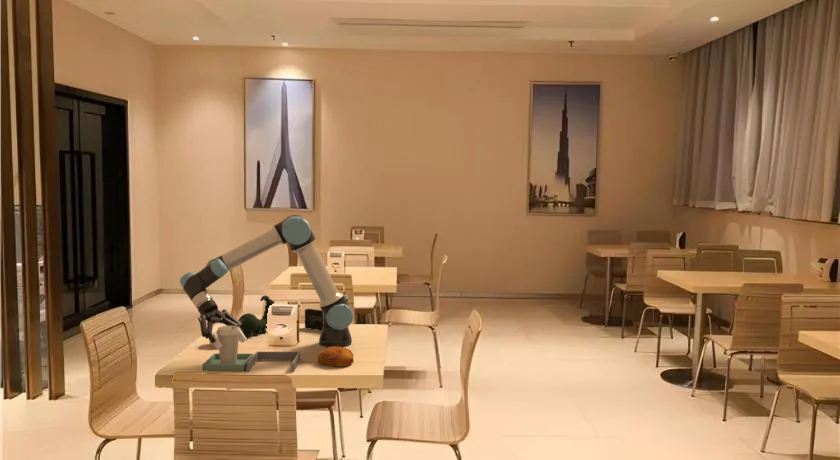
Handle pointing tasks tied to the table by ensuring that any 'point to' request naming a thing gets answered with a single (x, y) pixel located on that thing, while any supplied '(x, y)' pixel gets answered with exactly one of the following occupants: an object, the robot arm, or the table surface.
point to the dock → (275, 358)
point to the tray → (215, 365)
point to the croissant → (336, 356)
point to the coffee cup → (228, 344)
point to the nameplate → (314, 319)
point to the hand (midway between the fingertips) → (232, 344)
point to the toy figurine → (255, 320)
